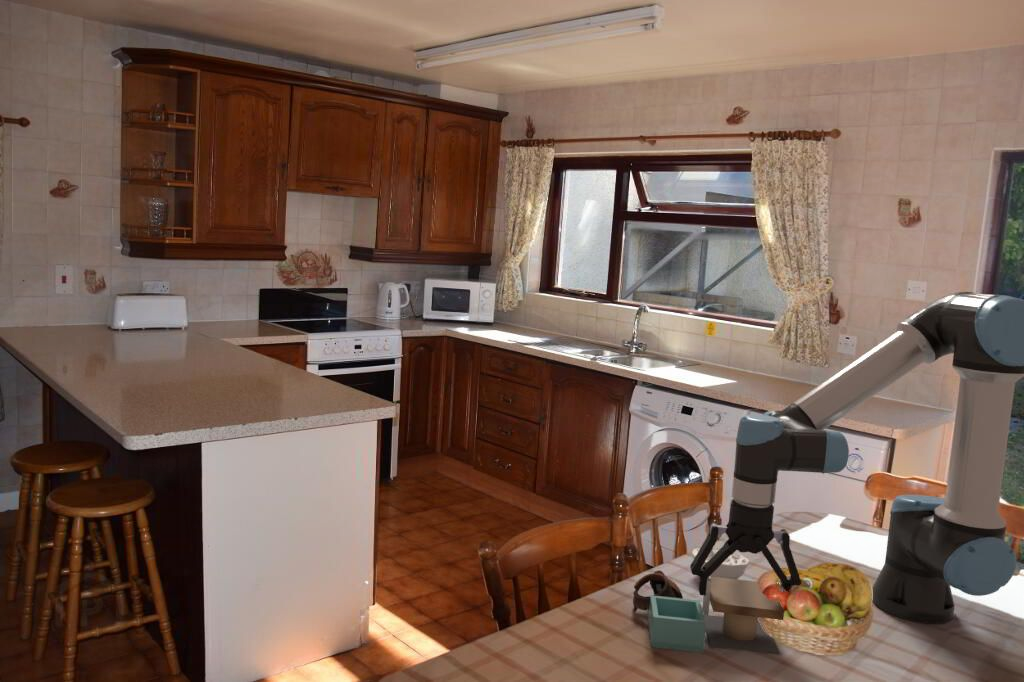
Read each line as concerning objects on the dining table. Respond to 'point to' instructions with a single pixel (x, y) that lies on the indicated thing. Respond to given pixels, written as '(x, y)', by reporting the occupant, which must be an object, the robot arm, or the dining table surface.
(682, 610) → the teal open box
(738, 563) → the cell model
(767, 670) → the dining table surface
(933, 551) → the robot arm
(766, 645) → the mat stand
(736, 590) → the lid
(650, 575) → the pottery mug
